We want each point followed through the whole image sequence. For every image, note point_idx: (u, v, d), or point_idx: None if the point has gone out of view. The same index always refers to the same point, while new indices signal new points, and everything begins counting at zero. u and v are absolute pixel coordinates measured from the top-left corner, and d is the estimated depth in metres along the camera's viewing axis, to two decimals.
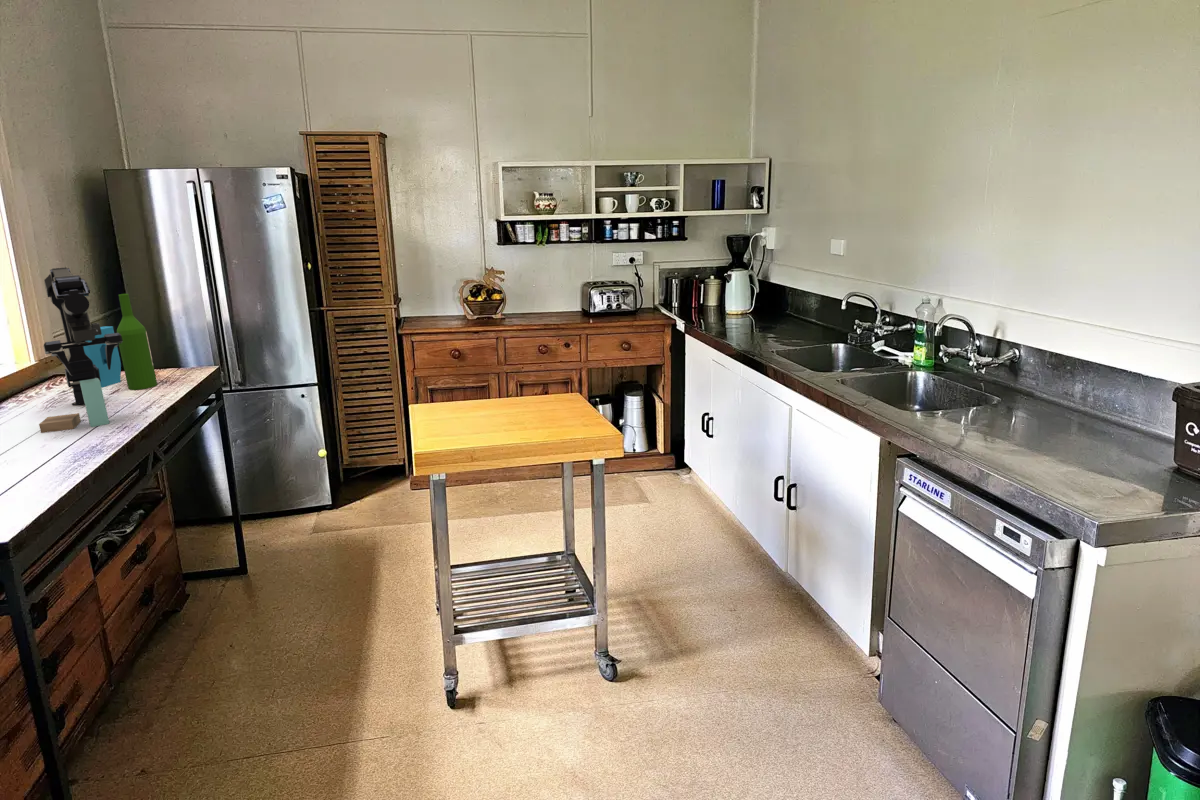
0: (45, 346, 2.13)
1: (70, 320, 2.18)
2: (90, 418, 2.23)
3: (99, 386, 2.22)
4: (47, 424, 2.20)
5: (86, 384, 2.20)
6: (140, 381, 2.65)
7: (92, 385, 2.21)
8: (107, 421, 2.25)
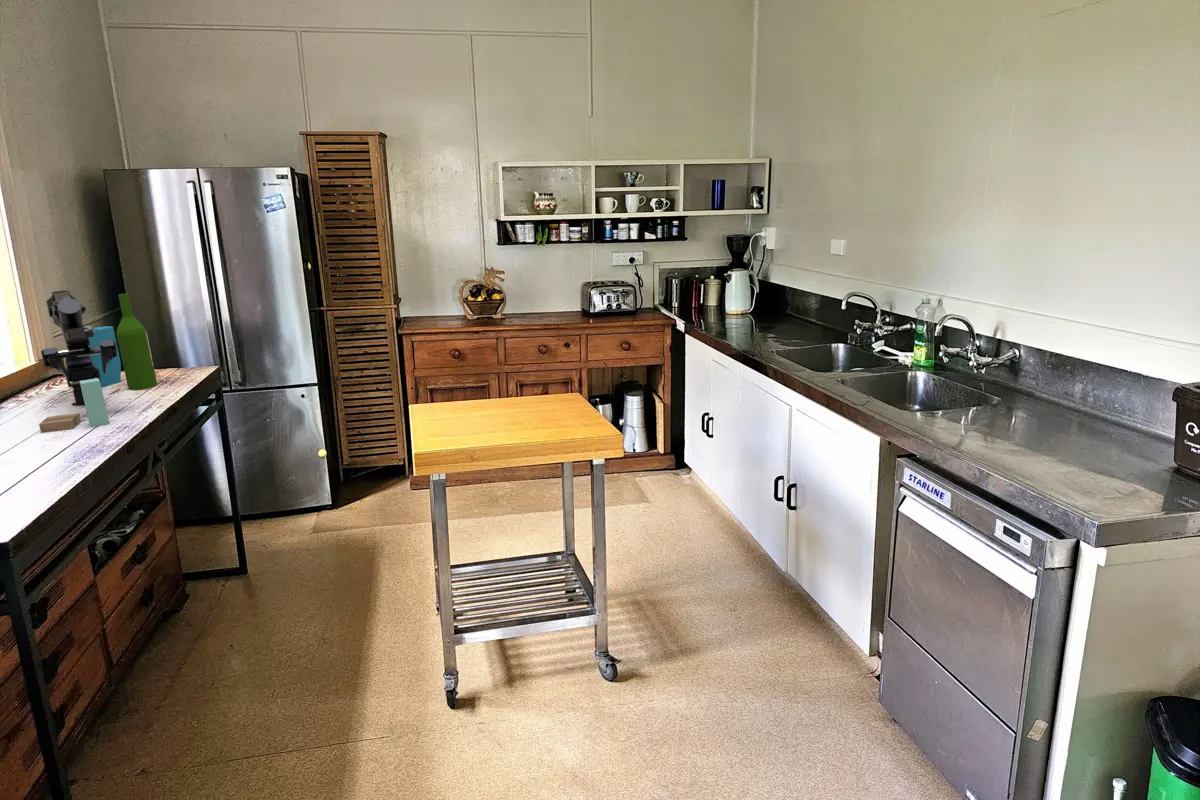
0: (42, 351, 2.24)
1: None
2: (90, 418, 2.23)
3: (99, 386, 2.22)
4: (47, 424, 2.20)
5: (86, 384, 2.20)
6: (140, 381, 2.65)
7: (92, 385, 2.21)
8: (107, 421, 2.25)
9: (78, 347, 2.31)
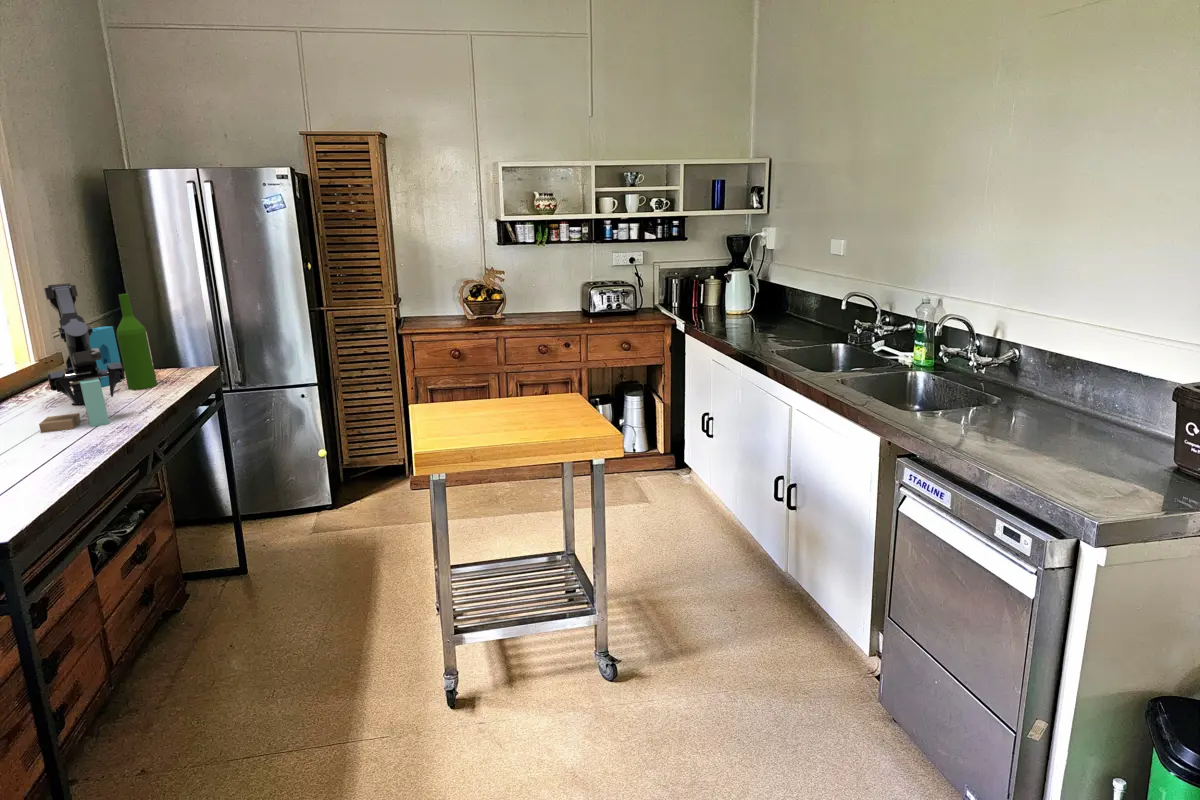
0: (48, 375, 2.20)
1: None
2: (90, 418, 2.23)
3: (99, 386, 2.22)
4: (47, 424, 2.20)
5: (86, 384, 2.20)
6: (140, 381, 2.65)
7: (92, 385, 2.21)
8: (107, 421, 2.25)
9: (85, 370, 2.27)
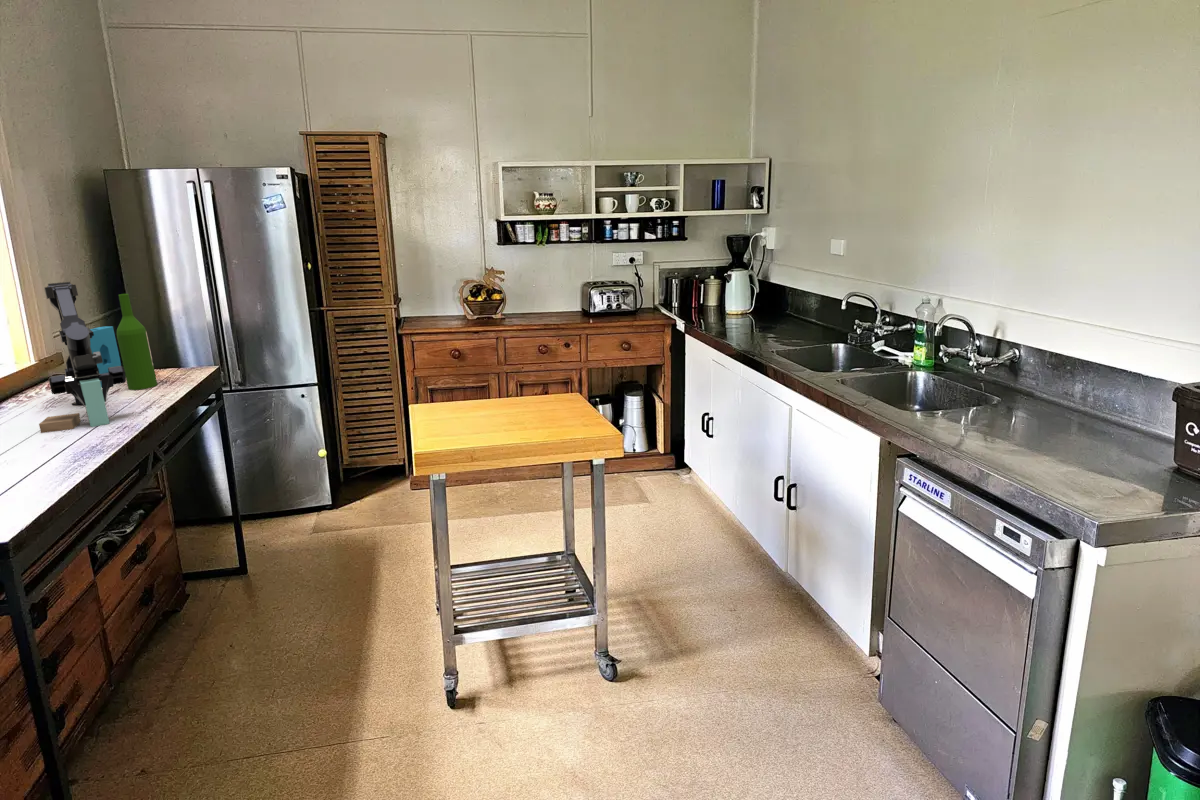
0: (49, 378, 2.19)
1: None
2: (90, 418, 2.23)
3: (99, 386, 2.22)
4: (47, 424, 2.20)
5: (86, 384, 2.20)
6: (140, 381, 2.65)
7: (92, 385, 2.21)
8: (107, 421, 2.25)
9: (86, 373, 2.26)
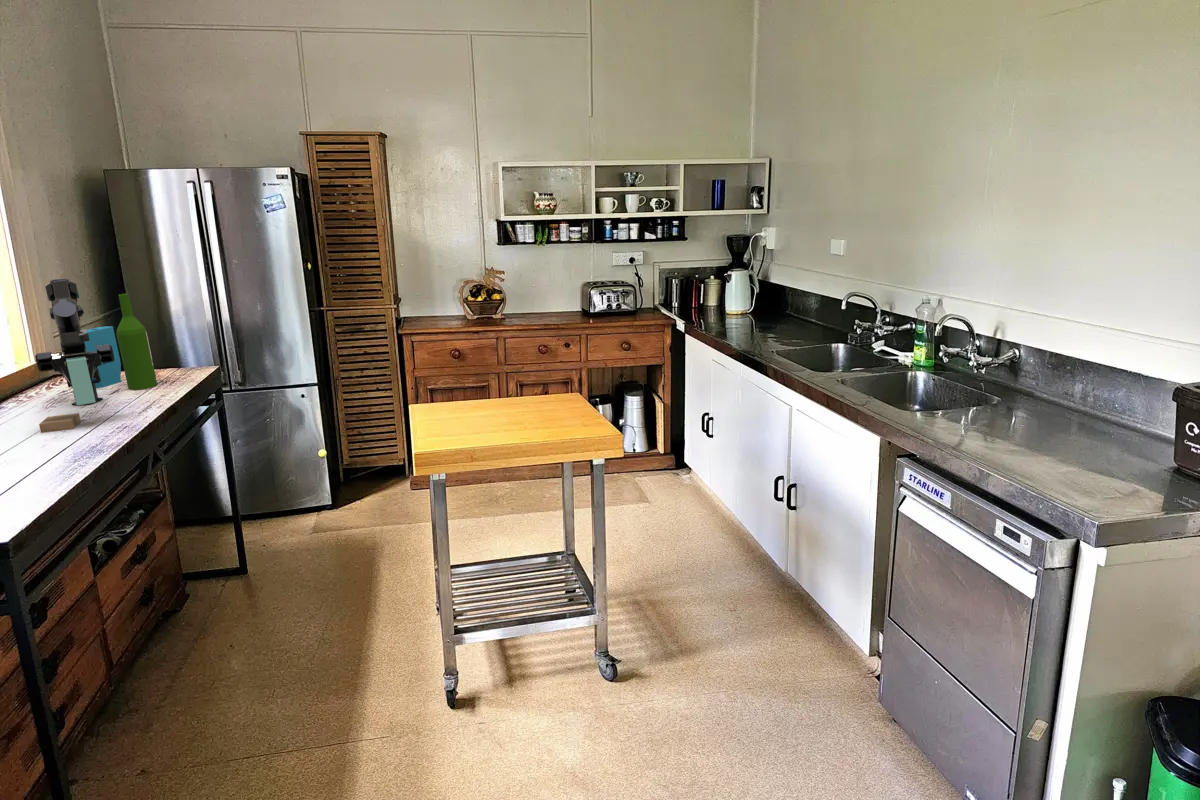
0: (36, 355, 2.17)
1: None
2: (76, 396, 2.20)
3: (85, 364, 2.20)
4: (47, 424, 2.20)
5: (72, 362, 2.18)
6: (140, 381, 2.65)
7: (78, 363, 2.19)
8: (93, 400, 2.23)
9: (74, 351, 2.24)
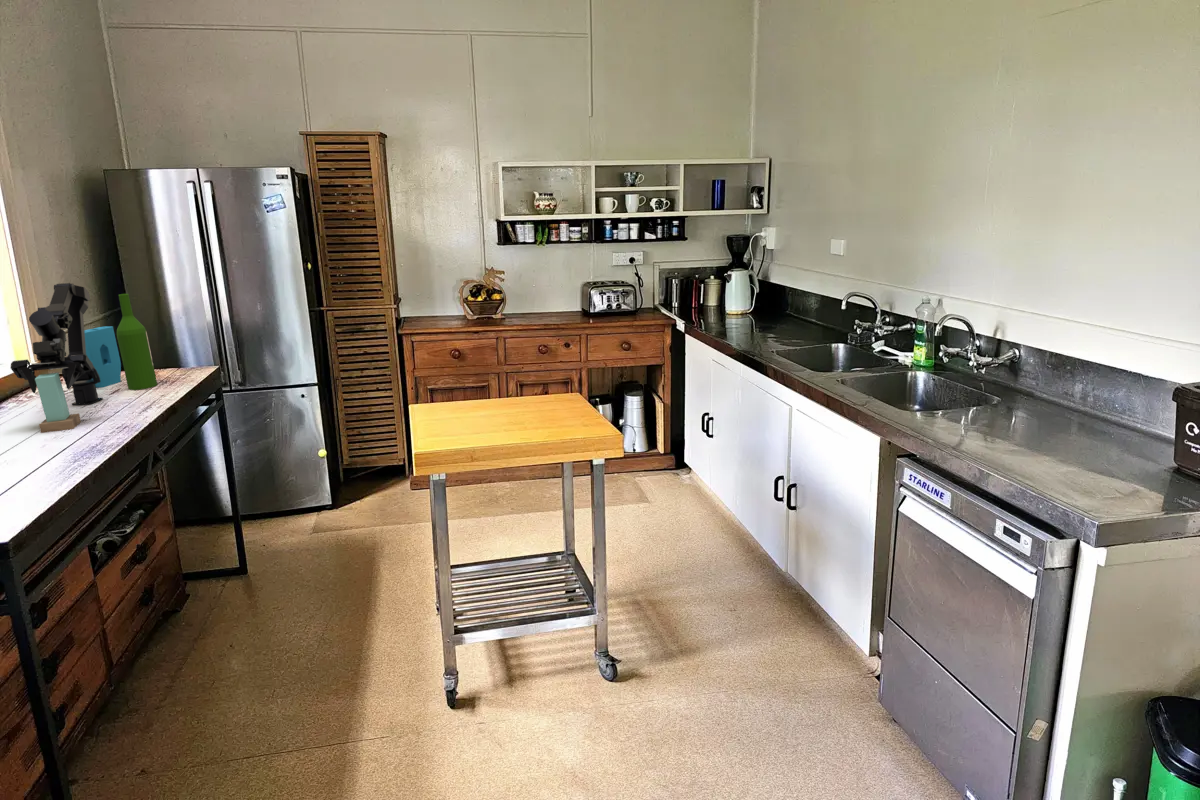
0: (11, 363, 2.19)
1: None
2: (45, 413, 2.20)
3: (53, 382, 2.19)
4: (47, 424, 2.20)
5: (40, 379, 2.18)
6: (140, 381, 2.65)
7: (46, 380, 2.18)
8: (63, 417, 2.22)
9: (51, 360, 2.24)
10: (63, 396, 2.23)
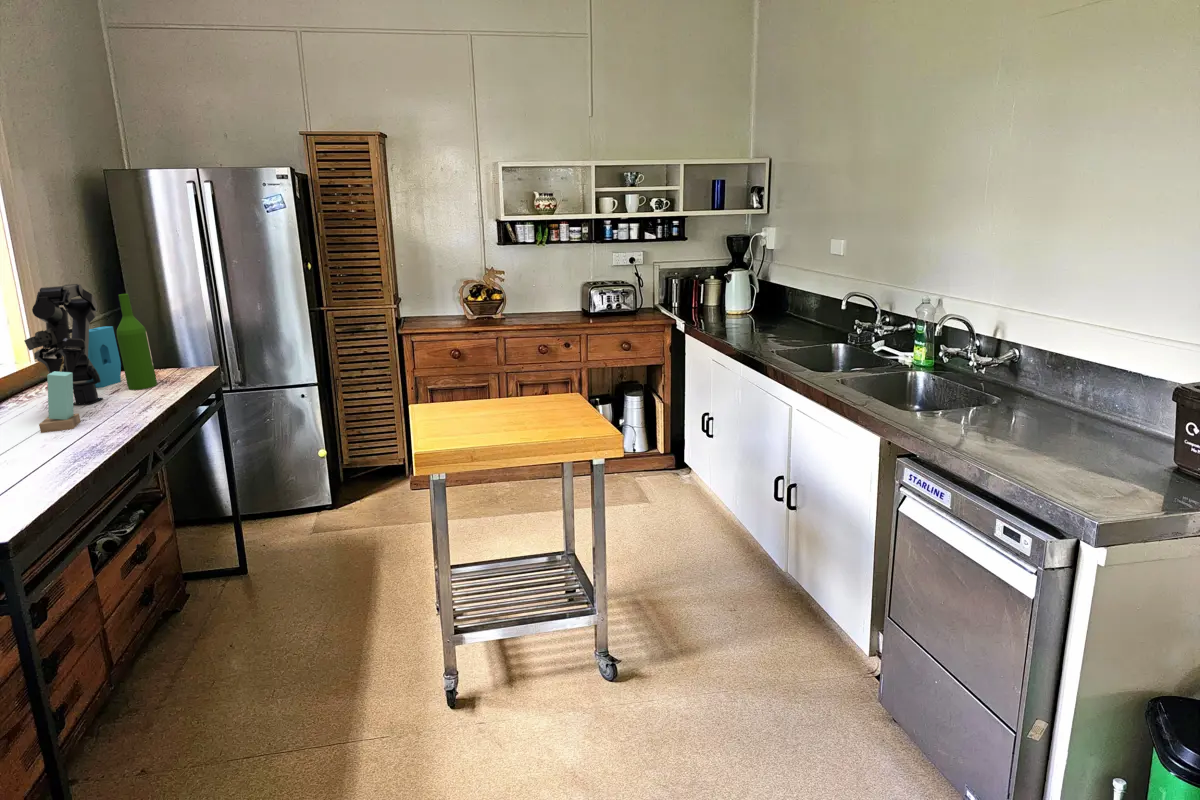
0: None
1: None
2: (49, 410, 2.21)
3: (64, 381, 2.20)
4: (47, 424, 2.20)
5: (52, 376, 2.19)
6: (140, 381, 2.65)
7: (57, 378, 2.19)
8: (65, 417, 2.22)
9: (55, 345, 2.33)
10: (70, 396, 2.24)
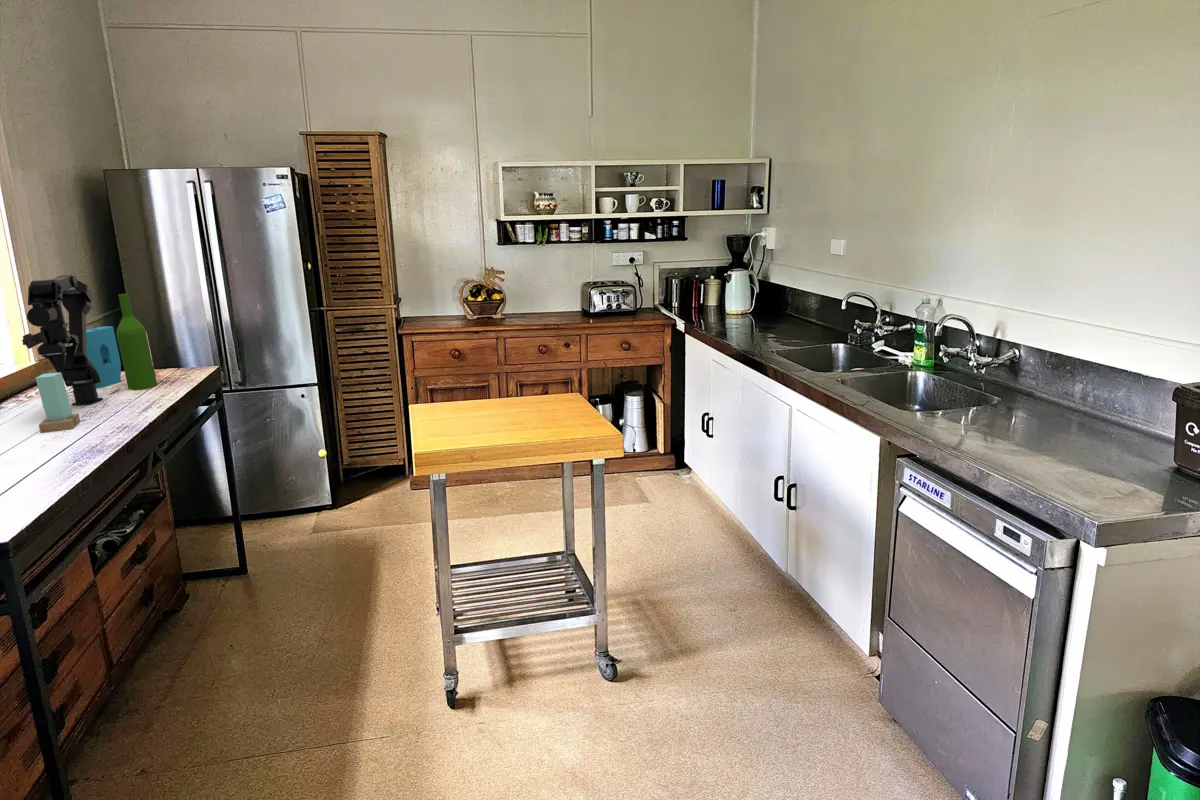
0: None
1: None
2: (46, 412, 2.21)
3: (53, 382, 2.19)
4: (47, 425, 2.20)
5: (40, 379, 2.18)
6: (140, 381, 2.65)
7: (46, 380, 2.19)
8: (62, 417, 2.22)
9: None
10: (64, 396, 2.24)
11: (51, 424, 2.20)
